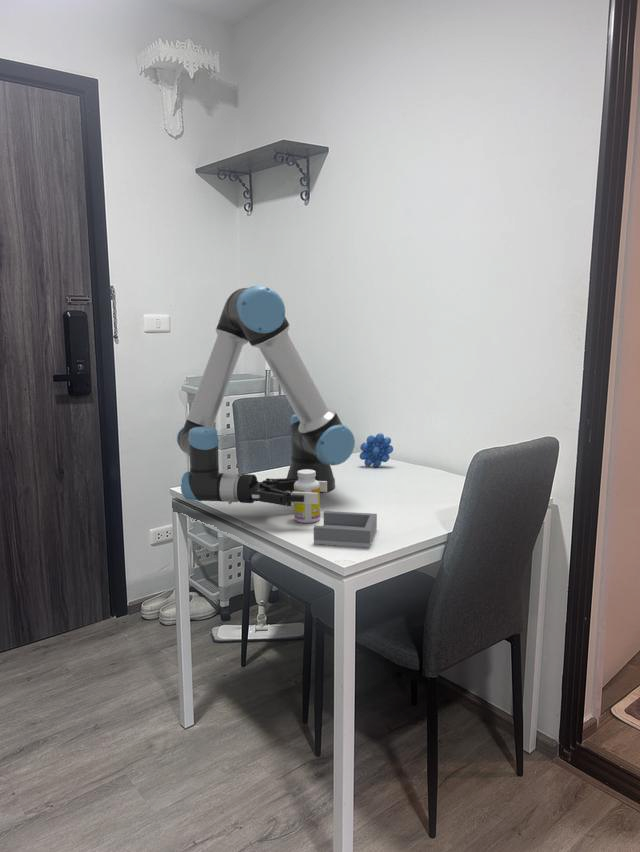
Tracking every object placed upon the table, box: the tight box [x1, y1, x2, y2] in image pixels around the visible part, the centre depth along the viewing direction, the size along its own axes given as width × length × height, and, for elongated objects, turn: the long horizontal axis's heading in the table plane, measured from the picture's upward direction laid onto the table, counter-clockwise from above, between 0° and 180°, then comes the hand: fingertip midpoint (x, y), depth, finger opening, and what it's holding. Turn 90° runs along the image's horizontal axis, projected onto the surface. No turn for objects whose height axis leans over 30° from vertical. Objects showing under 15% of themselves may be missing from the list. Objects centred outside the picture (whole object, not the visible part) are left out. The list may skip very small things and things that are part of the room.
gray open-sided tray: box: [313, 510, 378, 549], centre depth 153 cm, size 13×13×4 cm
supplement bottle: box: [293, 469, 321, 524], centre depth 165 cm, size 7×7×13 cm
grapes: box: [359, 432, 394, 468], centre depth 223 cm, size 12×7×12 cm, turn 84°
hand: (322, 492), depth 164 cm, fingers open, 11 cm apart
